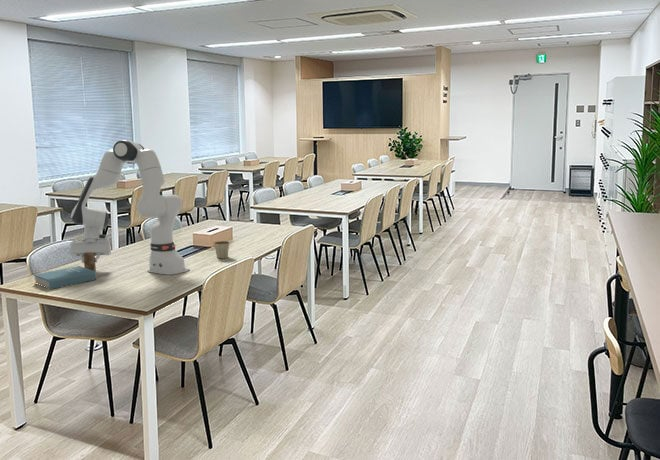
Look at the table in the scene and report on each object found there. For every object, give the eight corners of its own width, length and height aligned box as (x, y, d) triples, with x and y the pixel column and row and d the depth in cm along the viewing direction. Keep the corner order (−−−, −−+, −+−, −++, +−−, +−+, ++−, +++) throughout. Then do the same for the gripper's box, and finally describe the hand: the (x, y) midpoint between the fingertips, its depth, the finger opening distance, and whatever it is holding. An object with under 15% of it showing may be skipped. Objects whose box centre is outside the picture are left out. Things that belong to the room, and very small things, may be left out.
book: (79, 275, 308) (79, 265, 307) (95, 280, 297) (95, 271, 296) (34, 284, 291) (33, 274, 290) (50, 290, 280) (49, 280, 280)
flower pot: (210, 258, 343) (209, 243, 341) (220, 254, 351) (220, 240, 350) (223, 259, 339) (223, 244, 337) (233, 256, 347) (233, 241, 345)
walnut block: (95, 270, 316) (94, 251, 314) (94, 272, 311) (92, 253, 310) (86, 270, 315) (85, 252, 313) (84, 273, 311) (83, 254, 309)
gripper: (69, 237, 315) (66, 259, 307) (110, 235, 318) (108, 257, 311) (72, 243, 320) (69, 266, 312) (112, 242, 324) (110, 264, 316)
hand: (89, 261), depth 312 cm, fingers closed on walnut block, 4 cm apart
